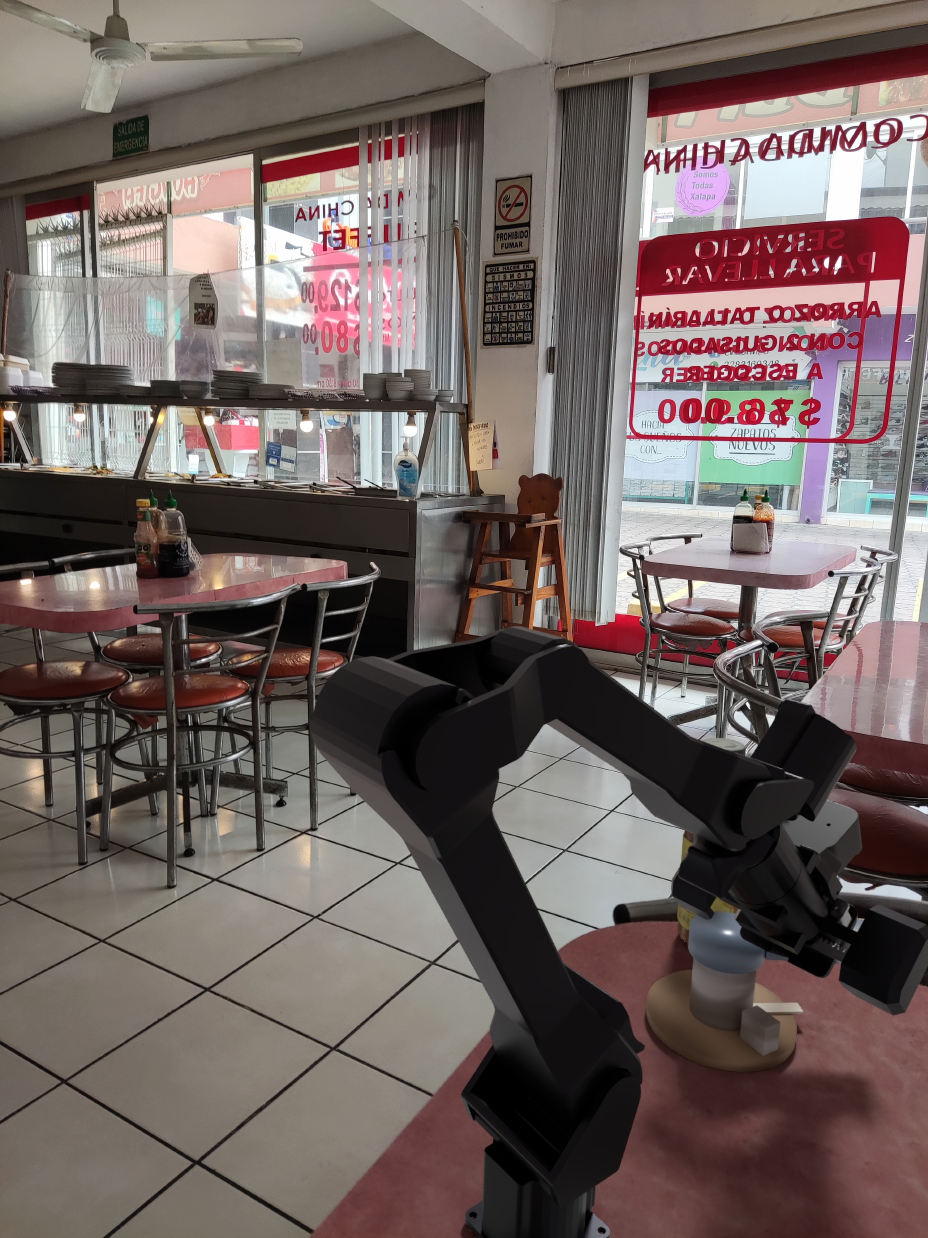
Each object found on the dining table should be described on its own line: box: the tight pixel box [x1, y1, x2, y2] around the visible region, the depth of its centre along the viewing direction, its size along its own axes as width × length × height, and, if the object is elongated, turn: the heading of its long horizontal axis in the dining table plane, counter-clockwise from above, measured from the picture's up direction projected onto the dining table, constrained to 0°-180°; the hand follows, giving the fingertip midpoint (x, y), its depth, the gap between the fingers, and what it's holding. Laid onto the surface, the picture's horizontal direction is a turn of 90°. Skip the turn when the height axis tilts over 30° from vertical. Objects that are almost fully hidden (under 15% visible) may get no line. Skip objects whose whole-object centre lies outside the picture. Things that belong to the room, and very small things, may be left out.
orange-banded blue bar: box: [687, 911, 864, 974], centre depth 72 cm, size 14×6×3 cm, turn 87°
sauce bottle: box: [676, 737, 747, 945], centre depth 85 cm, size 6×6×20 cm
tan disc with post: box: [645, 957, 804, 1073], centre depth 74 cm, size 12×12×6 cm
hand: (823, 962), depth 71 cm, fingers closed
